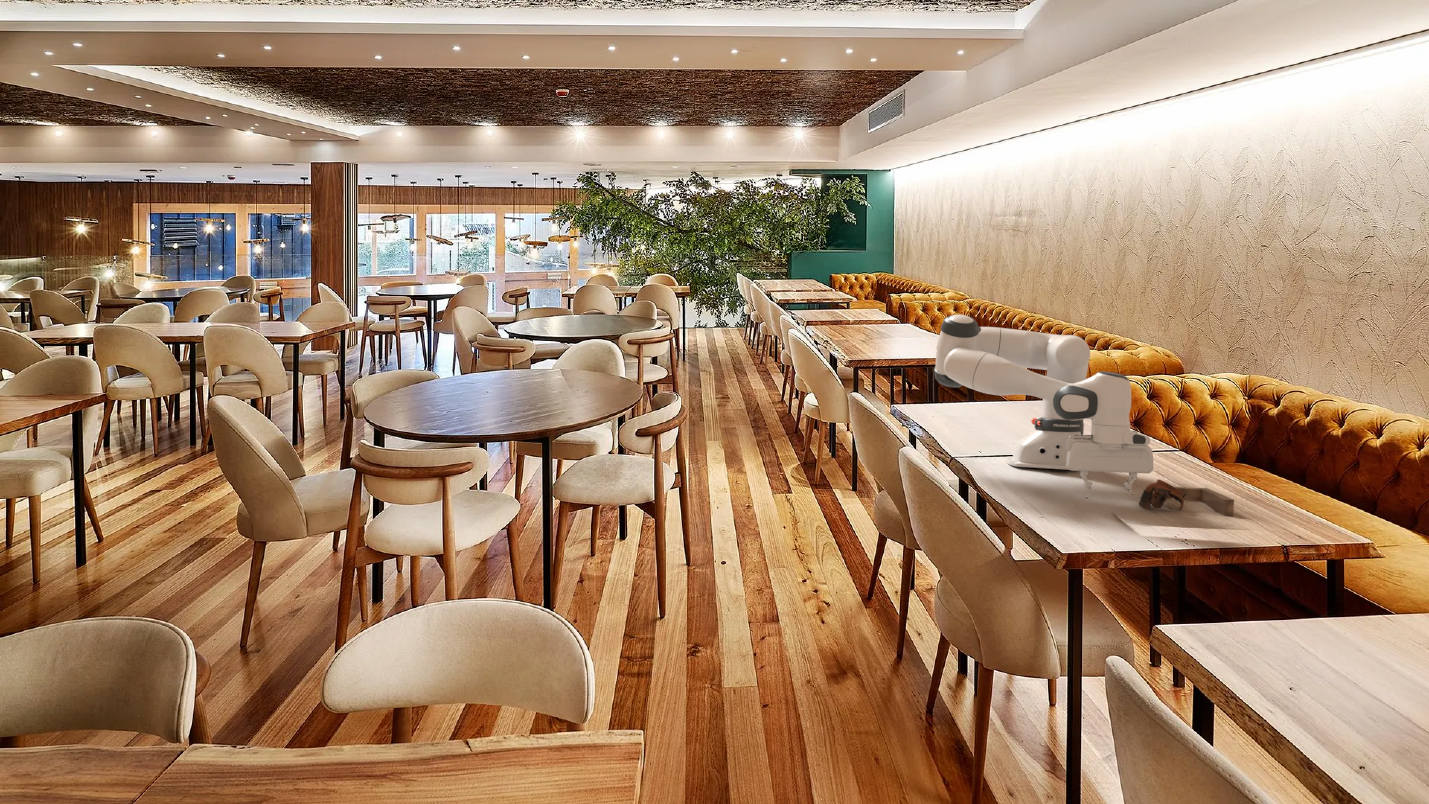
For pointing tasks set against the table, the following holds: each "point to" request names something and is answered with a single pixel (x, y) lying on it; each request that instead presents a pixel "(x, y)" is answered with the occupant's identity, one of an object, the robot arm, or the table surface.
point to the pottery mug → (1160, 495)
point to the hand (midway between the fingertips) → (1107, 489)
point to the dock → (1209, 499)
